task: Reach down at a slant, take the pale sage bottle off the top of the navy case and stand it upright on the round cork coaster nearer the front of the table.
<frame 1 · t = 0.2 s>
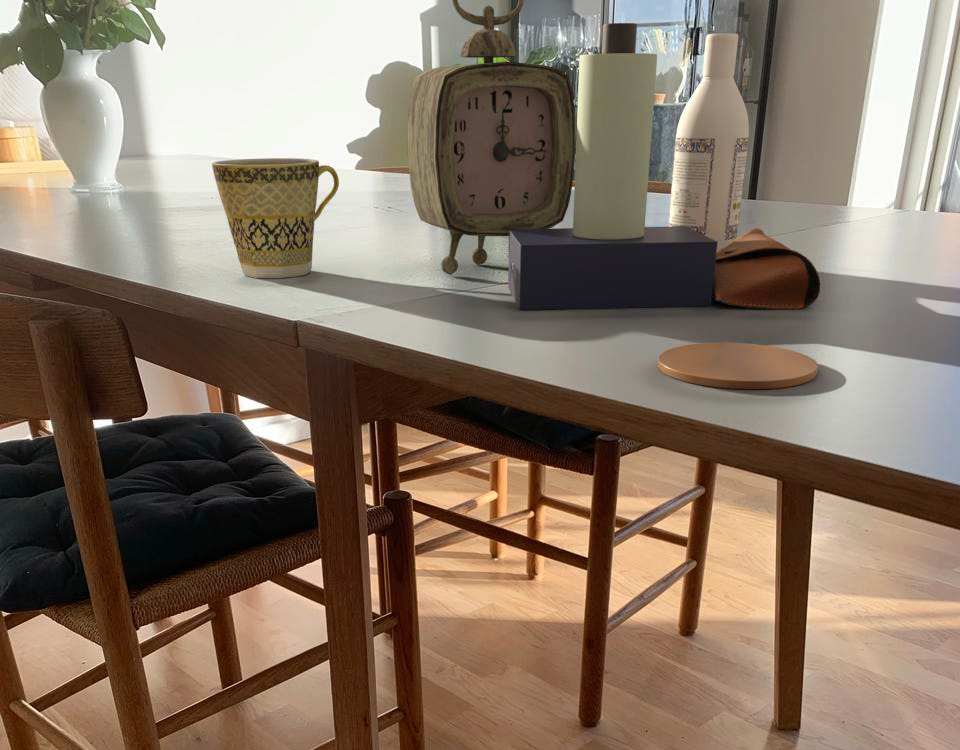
ceramic cup: (291, 273, 96), on the table
bottle: (608, 235, 80), point 5 cm above the table, touching navy case
tabletop clock: (487, 269, 97), on the table
navy case: (604, 296, 82), on the table
coaster: (736, 368, 61), on the table
sunglasses case: (743, 291, 85), on the table
bath foam: (698, 265, 98), on the table
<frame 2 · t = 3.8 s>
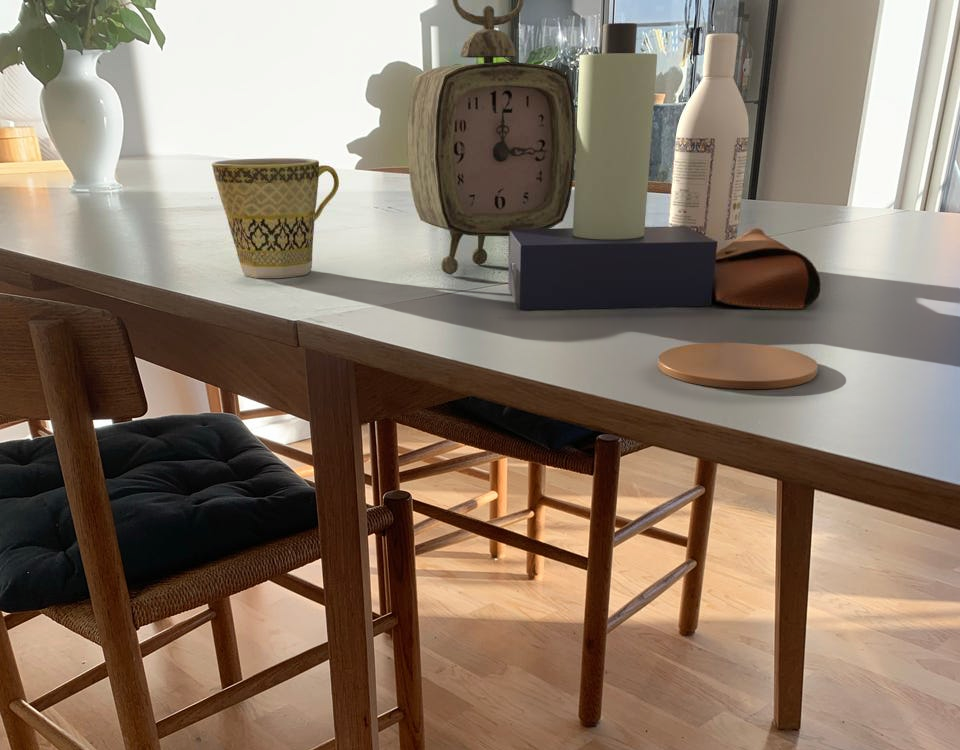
nothing on the table moved.
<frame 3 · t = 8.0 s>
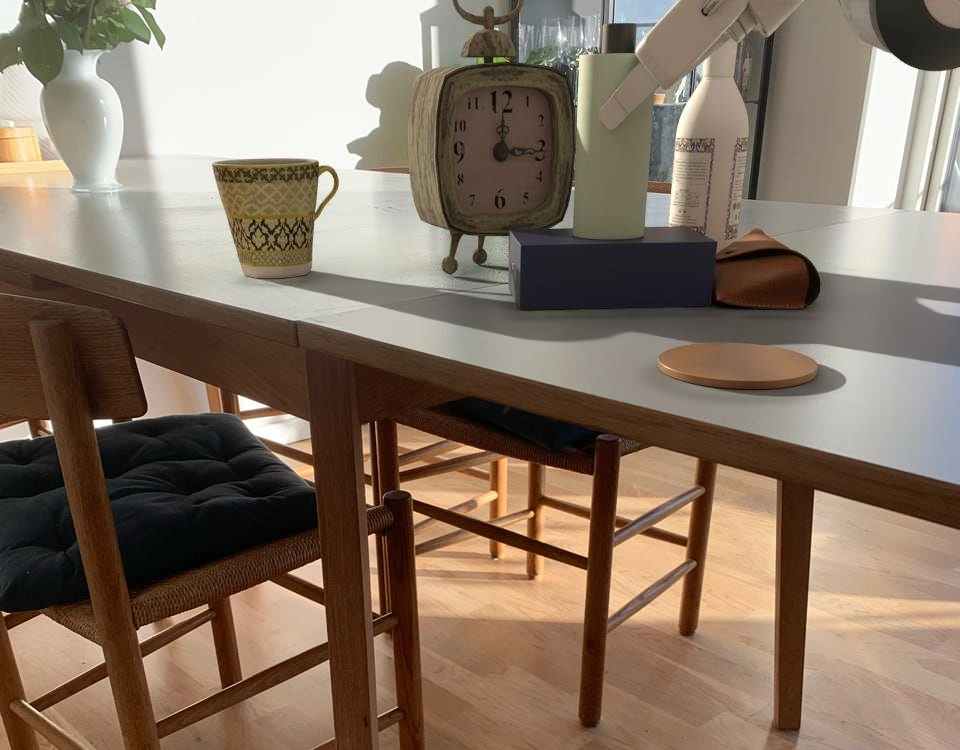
hand: (606, 121, 76), 13 cm above the table, tool tilted 45°, fingers closed on bottle, 6 cm apart
bottle: (608, 235, 80), point 5 cm above the table, touching gripper, navy case
everything else where it was.
when the fingers open (9 cm above the table, at t = 18.6 s): bottle stays where it is, resting on coaster.
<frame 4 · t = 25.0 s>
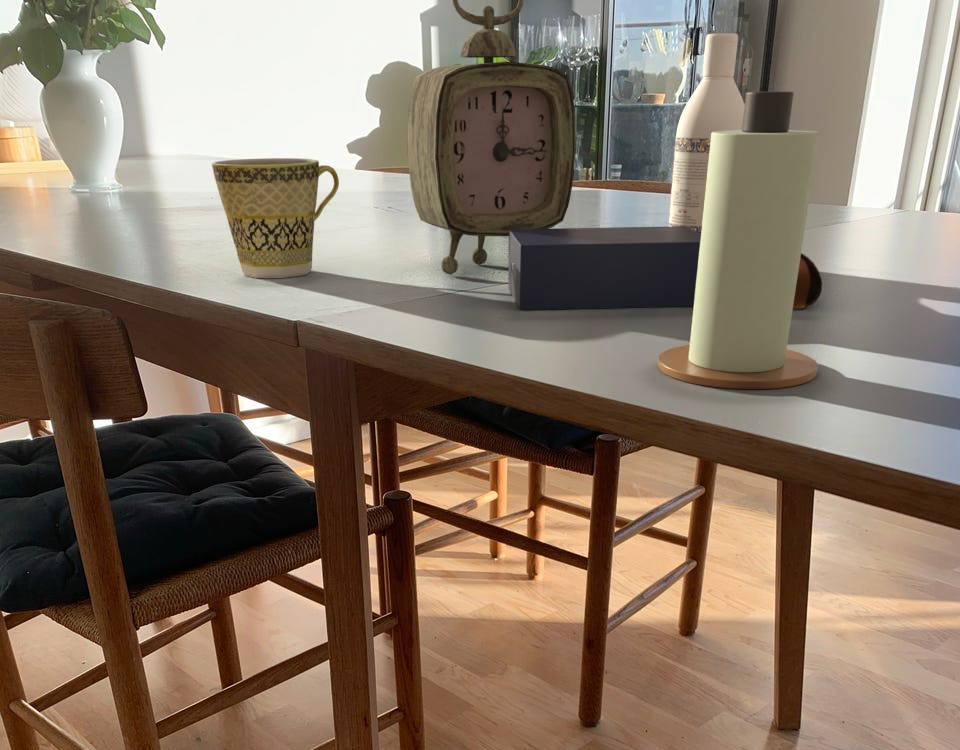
bottle: (735, 360, 61), resting on coaster
everything else where it was.
at the end: bottle 0.1 cm off-centre on the coaster, point 0.5 cm above the coaster's base; bottle tilted 0°; bottle touching coaster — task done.
